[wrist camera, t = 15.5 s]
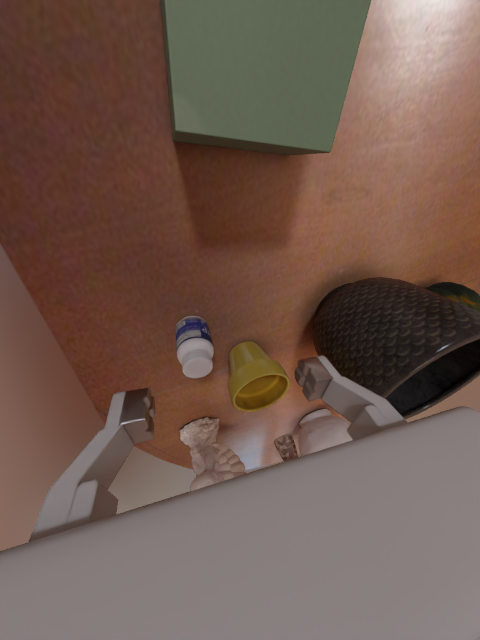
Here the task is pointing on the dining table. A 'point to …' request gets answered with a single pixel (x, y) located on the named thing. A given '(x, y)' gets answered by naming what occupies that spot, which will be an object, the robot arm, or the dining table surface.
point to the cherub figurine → (209, 454)
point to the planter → (399, 341)
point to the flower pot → (255, 378)
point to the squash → (457, 294)
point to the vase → (322, 431)
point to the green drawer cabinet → (260, 71)
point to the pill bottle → (194, 346)
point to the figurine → (286, 447)
